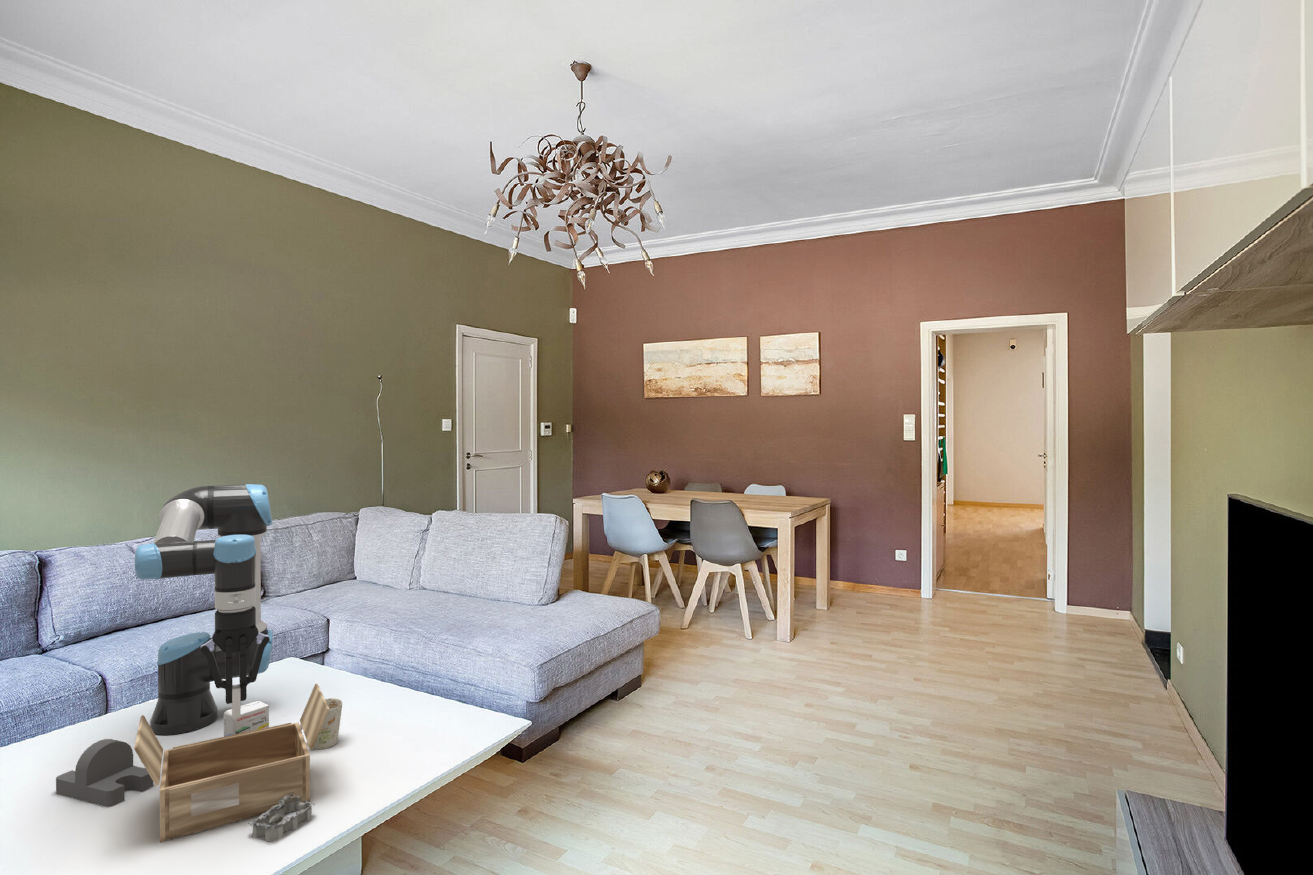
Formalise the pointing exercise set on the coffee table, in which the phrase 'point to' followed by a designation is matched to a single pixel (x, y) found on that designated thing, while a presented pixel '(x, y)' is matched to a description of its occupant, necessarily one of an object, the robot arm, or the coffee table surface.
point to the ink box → (247, 719)
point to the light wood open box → (231, 778)
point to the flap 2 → (314, 716)
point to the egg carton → (272, 819)
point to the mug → (329, 725)
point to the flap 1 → (149, 750)
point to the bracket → (104, 775)
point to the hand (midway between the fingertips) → (236, 716)
